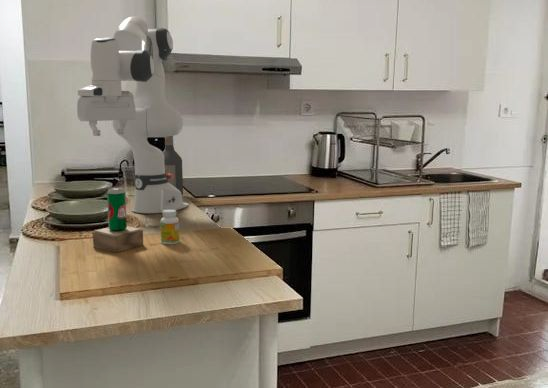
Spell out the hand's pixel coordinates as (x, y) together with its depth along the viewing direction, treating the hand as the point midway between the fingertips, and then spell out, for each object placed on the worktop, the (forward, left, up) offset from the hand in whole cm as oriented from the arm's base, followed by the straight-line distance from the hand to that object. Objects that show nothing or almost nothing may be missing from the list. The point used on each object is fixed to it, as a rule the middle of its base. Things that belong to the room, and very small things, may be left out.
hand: (109, 135), depth 176 cm
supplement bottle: (0, +26, -31) cm, 41 cm away
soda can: (+12, +17, -26) cm, 34 cm away
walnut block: (+12, +17, -31) cm, 37 cm away
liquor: (-56, -31, -31) cm, 71 cm away
